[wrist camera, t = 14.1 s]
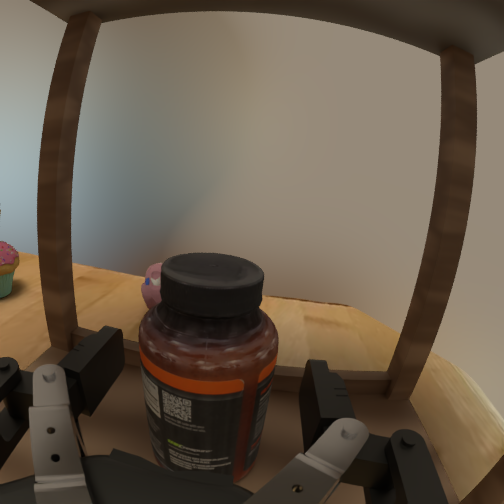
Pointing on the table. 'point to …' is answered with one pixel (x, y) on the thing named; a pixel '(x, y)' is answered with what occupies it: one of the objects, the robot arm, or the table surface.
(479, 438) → the table surface
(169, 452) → the supplement bottle
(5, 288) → the cupcake
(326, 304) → the table surface
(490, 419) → the table surface
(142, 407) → the under-counter shelf
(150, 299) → the video game controller
